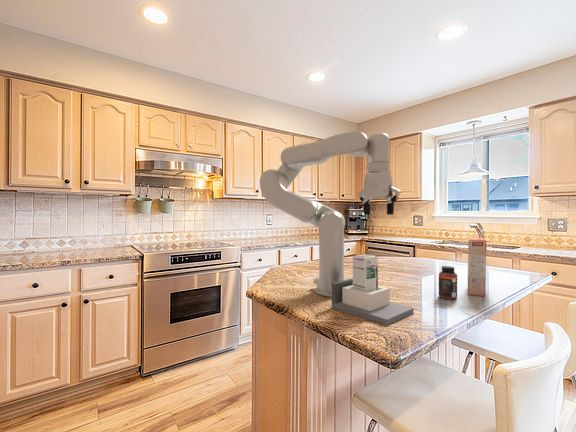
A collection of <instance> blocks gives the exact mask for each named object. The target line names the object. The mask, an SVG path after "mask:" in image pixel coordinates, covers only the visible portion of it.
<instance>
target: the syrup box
mask: <svg viewBox="0 0 576 432" xmlns="http://www.w3.org/2000/svg"><path fill="white" fill-rule="evenodd" d="M378 260H379V259H378V256H377V255H374V254H360V255H353V256H352V278H353V289H356V290H360V291H364V292H368V293H370V292H373V291H376V290H378V286H379V274H378V273H379V269H378V268H379V263H378V262H379V261H378Z"/></svg>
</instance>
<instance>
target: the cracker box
mask: <svg viewBox="0 0 576 432" xmlns="http://www.w3.org/2000/svg"><path fill="white" fill-rule="evenodd" d="M467 247H468V250H467V295H469V296H477V297H486V284H487V283H486V282H487V281H486V280H487V278H486V277H487V276H486V275H487V240H486V238H484V237H468V246H467Z"/></svg>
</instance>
